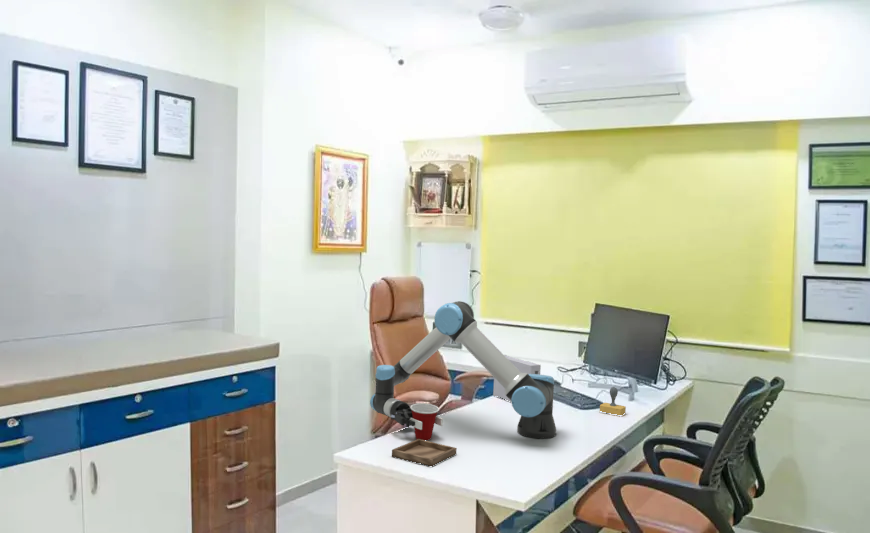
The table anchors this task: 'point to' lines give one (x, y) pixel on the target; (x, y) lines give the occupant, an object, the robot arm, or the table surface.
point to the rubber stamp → (613, 404)
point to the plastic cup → (424, 419)
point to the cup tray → (424, 452)
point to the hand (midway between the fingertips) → (431, 424)
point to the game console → (522, 367)
